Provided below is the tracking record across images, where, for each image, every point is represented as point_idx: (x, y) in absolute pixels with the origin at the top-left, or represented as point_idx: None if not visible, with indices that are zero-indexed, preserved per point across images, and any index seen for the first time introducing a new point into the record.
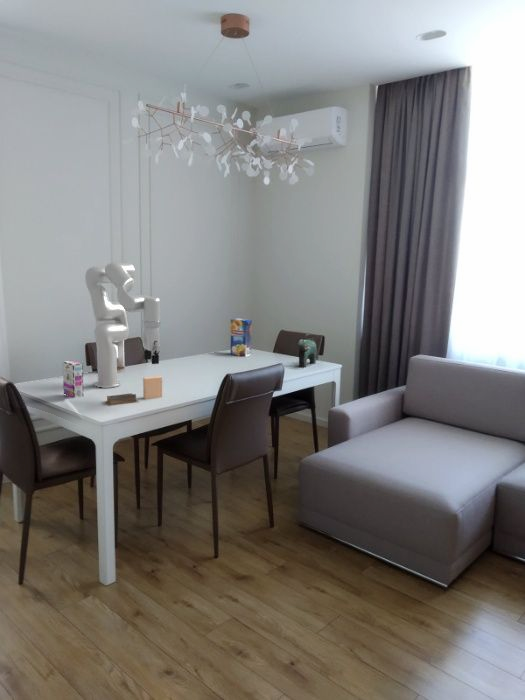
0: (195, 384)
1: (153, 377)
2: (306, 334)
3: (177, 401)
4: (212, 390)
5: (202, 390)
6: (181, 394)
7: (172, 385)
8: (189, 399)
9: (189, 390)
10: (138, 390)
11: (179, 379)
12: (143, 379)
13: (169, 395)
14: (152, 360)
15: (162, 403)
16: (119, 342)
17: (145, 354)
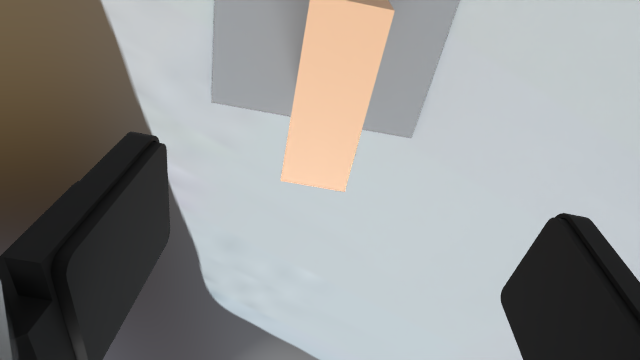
0: (445, 352)
1: (323, 113)
2: None
3: (195, 138)
4: (301, 346)
5: (329, 323)
6: (325, 229)
7: None
8: (204, 207)
9: (370, 290)
10: (619, 87)
11: None
12: (379, 4)
13: (350, 173)
14: (95, 176)
15: (193, 36)
16: None
17: (606, 300)
